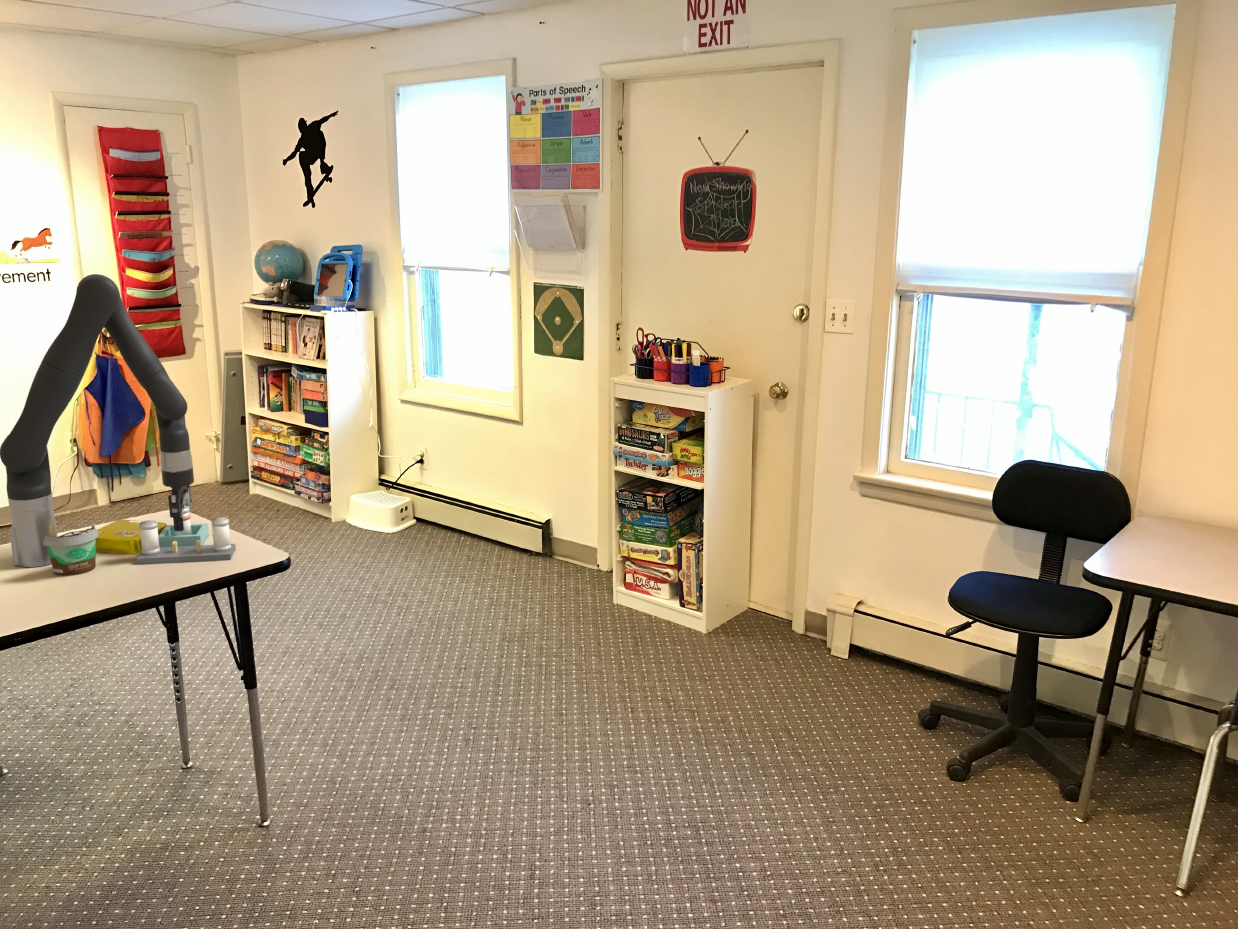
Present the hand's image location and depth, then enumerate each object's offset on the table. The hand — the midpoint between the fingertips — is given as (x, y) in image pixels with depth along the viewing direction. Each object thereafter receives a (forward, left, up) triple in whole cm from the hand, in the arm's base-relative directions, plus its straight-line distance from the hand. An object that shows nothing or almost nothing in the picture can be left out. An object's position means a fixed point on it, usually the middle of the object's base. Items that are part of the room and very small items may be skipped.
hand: (182, 525), depth 249 cm
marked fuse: (0, 0, -4) cm, 4 cm away
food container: (-20, -18, -5) cm, 27 cm away
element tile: (-14, +2, -6) cm, 15 cm away
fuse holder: (+3, -11, -5) cm, 12 cm away
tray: (0, 0, -5) cm, 5 cm away
